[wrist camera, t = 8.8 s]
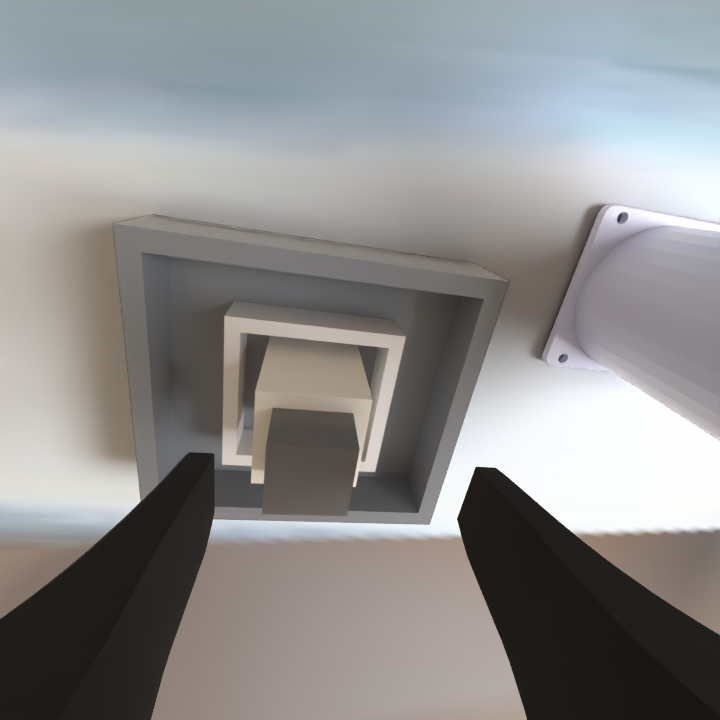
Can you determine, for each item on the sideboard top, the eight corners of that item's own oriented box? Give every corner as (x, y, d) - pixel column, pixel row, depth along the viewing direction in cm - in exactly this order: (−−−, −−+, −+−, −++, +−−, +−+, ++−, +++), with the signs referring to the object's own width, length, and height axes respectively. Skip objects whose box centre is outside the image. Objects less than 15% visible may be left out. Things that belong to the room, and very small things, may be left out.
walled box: (474, 263, 18) (509, 281, 15) (413, 477, 23) (429, 524, 20) (153, 214, 15) (112, 223, 12) (168, 465, 21) (142, 517, 18)
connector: (357, 344, 18) (382, 434, 11) (345, 415, 19) (361, 529, 13) (270, 335, 17) (245, 426, 11) (265, 410, 19) (242, 527, 12)
